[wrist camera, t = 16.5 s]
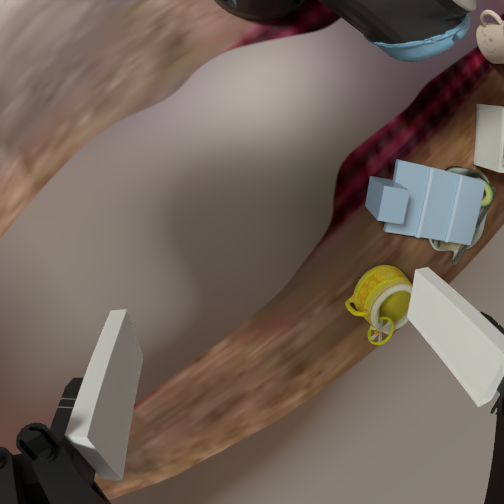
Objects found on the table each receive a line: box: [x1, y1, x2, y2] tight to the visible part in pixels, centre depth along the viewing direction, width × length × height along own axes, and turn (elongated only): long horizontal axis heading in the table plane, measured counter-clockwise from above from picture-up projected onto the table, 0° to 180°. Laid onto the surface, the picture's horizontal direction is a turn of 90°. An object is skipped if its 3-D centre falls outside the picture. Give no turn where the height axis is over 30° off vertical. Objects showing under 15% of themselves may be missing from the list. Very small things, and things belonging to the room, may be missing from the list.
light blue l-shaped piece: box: [365, 159, 486, 245], centre depth 45 cm, size 12×22×9 cm, turn 85°
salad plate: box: [428, 166, 496, 265], centre depth 52 cm, size 19×18×5 cm
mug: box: [345, 265, 413, 345], centre depth 51 cm, size 13×11×12 cm
